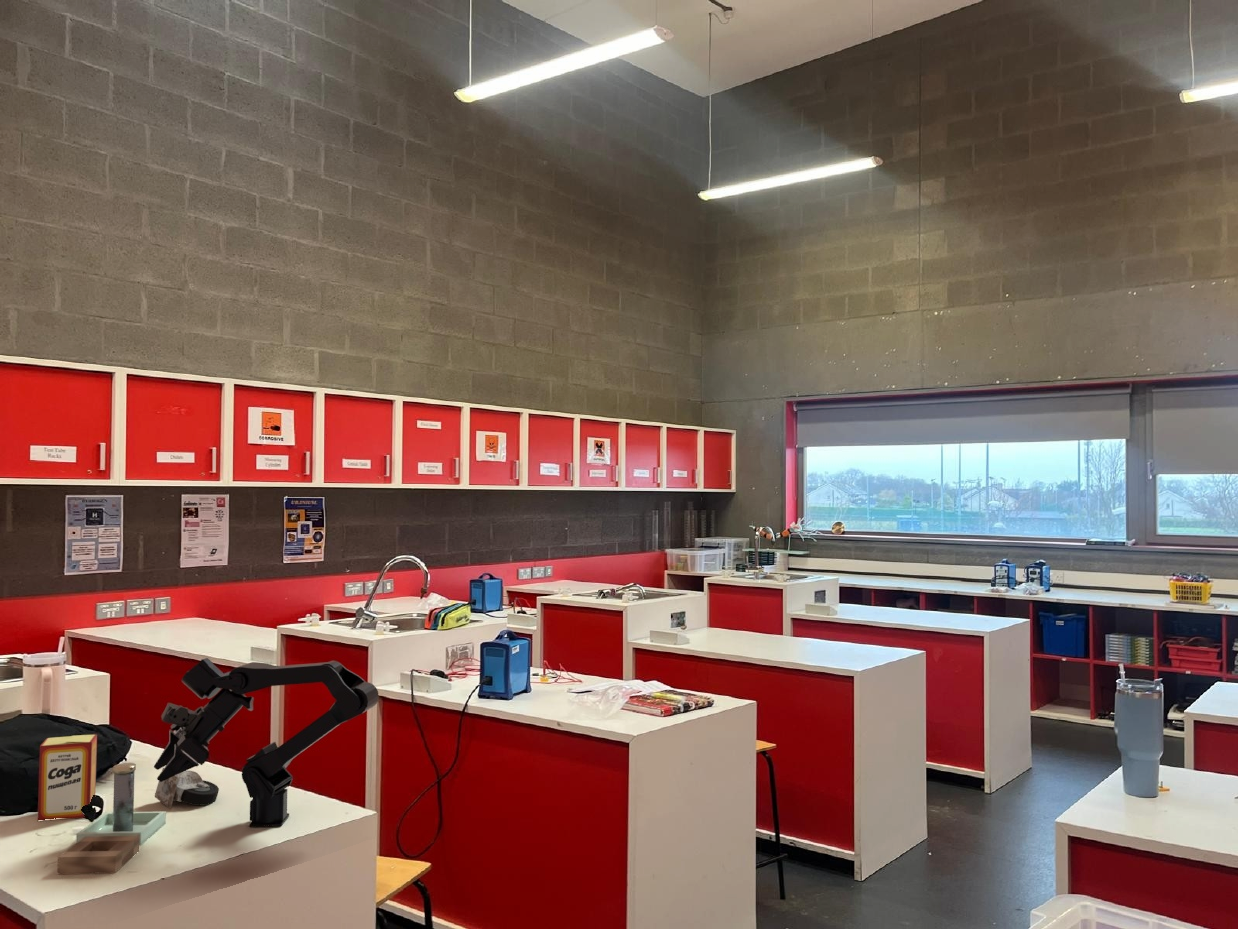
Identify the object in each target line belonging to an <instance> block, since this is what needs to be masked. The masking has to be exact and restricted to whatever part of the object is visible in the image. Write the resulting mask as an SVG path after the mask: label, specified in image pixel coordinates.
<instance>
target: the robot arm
mask: <svg viewBox="0 0 1238 929" xmlns="http://www.w3.org/2000/svg"><path fill="white" fill-rule="evenodd" d="M181 682H182V683H183V685H184V686H185V687H187V688H188V689H189V690H190V691H192V693H194V694H195V696H197V697H198V698H200V700H204V699H206V698H207V699H208V700H209V699H210V700H209V701H208V702H207V704H205V705H204V706H200V707H199V706H198V707H197V708H196V709H195V710H192V709H189V708H188V707H187V706H186V707H184V706H183V705H177V704H174V703H171V702H167V704H166V707H165V709H164V711H163V712H162V713H161V716H160V718H161V721H162V722H164V723H167V724H171V725H170V729H169V731H168V732H169V736H168V737H169V741H168V743H167V745H166V746H165V747H164V750H162V753H161V754H160V756H159V757H158V758H157V760H156V762H155V763H154V765H153V768H154V769H156V771H157V770H158V771H159V770H160V769H161V772H160V773H159V774H158V776H157V778H156V781H157V780H158V782H159V781H160V782H162V781H164V780H167V779H169V778H171V777H173V776H175V775H177V774H179V773H182V772H184V771H189V770H190V769H193V768H195V767H196V768H197V767H198V766H199V765H201V766H203V765H204V764H205V763H206V762H207V760H208V759H210V751H209V749H208V747H209V745H210V741H211V740H212V739H213V738H214V737H215V736H216V735H217V733H218V732H220V733H222V732H223V731H224V730H225V725H226V724H228V722H229V721H230V720H231V719H232V718H233V717H234V716H235V715H236V714H237V713H238V712H239V711H240V710H241V709H242V707H244V708H245V709H247V710H248V711H250V712H252V711H253V710H254V700H255V698H254V697H253V696H251V695H250V696H246V694H249V693H252V692H256V691H259V690H264V689H267V688H269V687H279V686H289V685H302V684H306V685H307V684H318V683H322V684H323V685H324V686H326V688H327V690H328V691H329V694H331V696H332V698H333V699H334V700H335V702H334V703H333V704H332V706H330V708H329V710H327V711H326V712H325V713H323V714H322V715H320V716H319V717H318V718H316V719H315V720H314V721H312V722H311V723H310V724H308V725H307V726H306V727H303V729H301V730H300V731H298V732H297V733H296V734H295V735H293V736H292V737H291V738H289V739H288V740H287V741H285V742H283V743H282V744H281V745H277V742H276V741H273V742H272V743H270V744H268V745H266V746H264V747H263V748H261V749H260V750H259V751H258V752H256V754H254V755H252V756H250V757H248V758H247V759H245V761H246V763H245V764H244V765H243V767H242V768H241V770H242V771H241V779H242V782H243V783H244V784H245V786H246V789H247V792H248V796H249V798H251V800H250V801H249V821H250V822H249V826H248V827H251V828H252V827H255V828H256V827H257V828H258V827H281V826H283V824H284V823H285V822H286V821H287V819H288V818H289V817H290V813H288V788H289V787H290V786H291V784H292V782H293V779H294V777H293V775H292V774H291V773H290V772H289V771H288V770H287V767H288V766H289V765H290V764H291V762H292V761H293V759H295V758H296V757H297V756H298V755H300V754H301V753H303V752H304V751H305V750H307V749H308V748H309V747H311V746H312V745H314V744H315V743H316V742H318V741H319V740H320V739H322V738H323V737H325V736H326V735H328V734H329V733H330V732H332V731H333V730H334V729H336V728H337V727H338V726H340V725H341V724H343V723H346V722H348V721H351V720H352V719H354V718H356V717H358V716H361V715H362V714H364V713H365V712H367V711H369V710H371V709H372V708H374V707H375V706H377V705H378V703H379V691H378V689H377V687H376V686H375V685H374V684H373V683H371V682H367V681H365V679H363V678H362V677H361V676H360V675H358V674H356V673H355V672H353V671H351V670H349V669H348V668H346V667H345V666H344V665H343V664H342V663H341V662H339V661H337V660H330V661H328V662H327V661H326V662H317V663H316V662H315V663H304V664H303V663H300V664H288V665H275V664H274V665H273V664H270V663H266V662H259V661H257V662H256V661H255V662H254V661H252V662H248V663H245V664H242V665H240V666H237V667H234V668H233V669H231V671H227V672H224V673H223V671H222V670H220V669H219V668H218V667H217V666H216V665H215V663H213V661H212V660H211V659H210V658H208V657H206V658H202V659H200V661H199V662H198V663H197V664H196V665H193V667H191V669H189V670H188V671H186V672H185V673H184V674H183V676H182V679H181ZM163 768H164V769H163ZM162 769H163V770H162Z"/></svg>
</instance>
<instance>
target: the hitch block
mask: <svg viewBox="0 0 1238 929" xmlns="http://www.w3.org/2000/svg"><path fill="white" fill-rule="evenodd" d="M139 843H140V836H92V837H84V838H83V839H81V840H80V841H79V842H77V843H75V844H74V845H72V846H71V847H69V848H68V849H67V850H65V851H64V852H63V853H61V854H60V855H59V856H57V873H56V874H57V875H77V873H79V874H80V875H81V874H87V875H88V874H116V873H117V872H118V871H119V870H121V869H122V868H123V867H124V866H125V865H126V864H127V863H128V862H129V861H130V860H131V859H133V858H134V857H135V856H136V855H137V854H138V853H139V852H140V846H139ZM137 852H138V853H137ZM135 854H136V855H135ZM134 855H135V856H134ZM133 856H134V857H133ZM79 874H78V875H79Z"/></svg>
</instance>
